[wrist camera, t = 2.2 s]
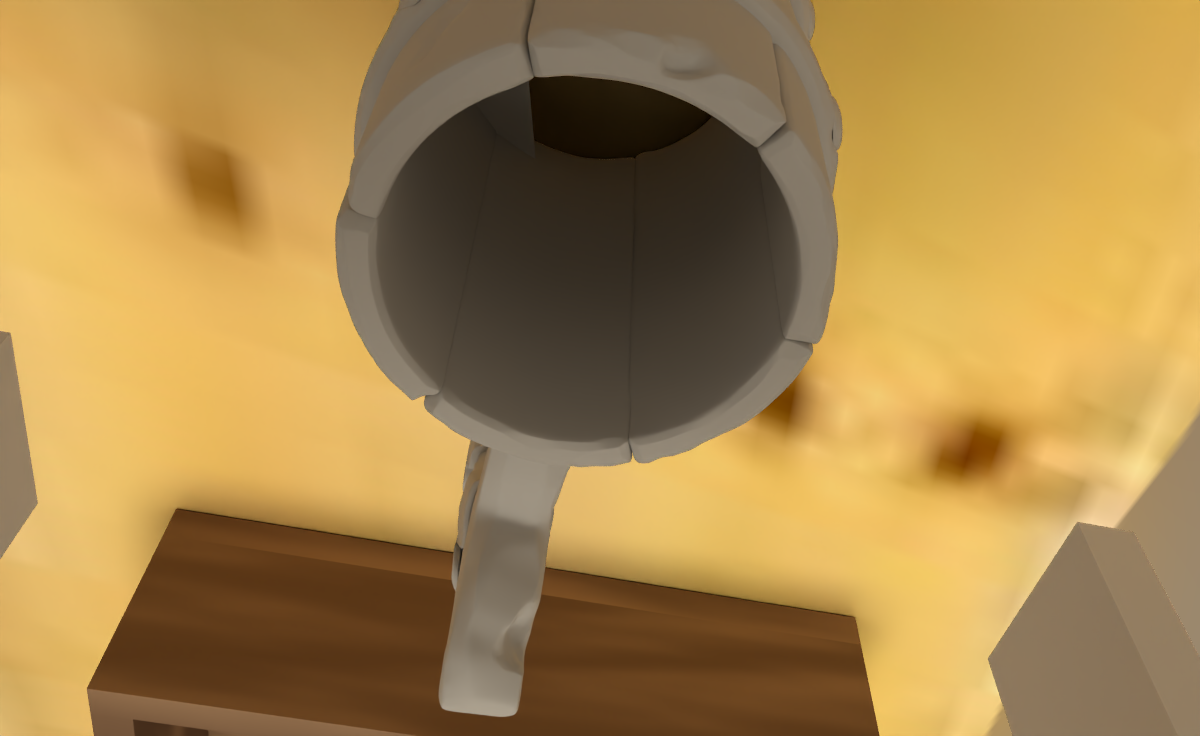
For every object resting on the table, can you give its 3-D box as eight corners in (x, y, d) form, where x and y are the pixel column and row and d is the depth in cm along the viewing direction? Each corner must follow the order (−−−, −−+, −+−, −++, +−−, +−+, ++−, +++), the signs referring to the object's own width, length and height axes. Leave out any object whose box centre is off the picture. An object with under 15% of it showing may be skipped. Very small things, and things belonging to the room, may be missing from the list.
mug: (861, -130, 19) (1082, 159, 10) (674, 367, 26) (694, 824, 17) (449, -252, 18) (240, -63, 9) (368, 298, 25) (202, 740, 16)
